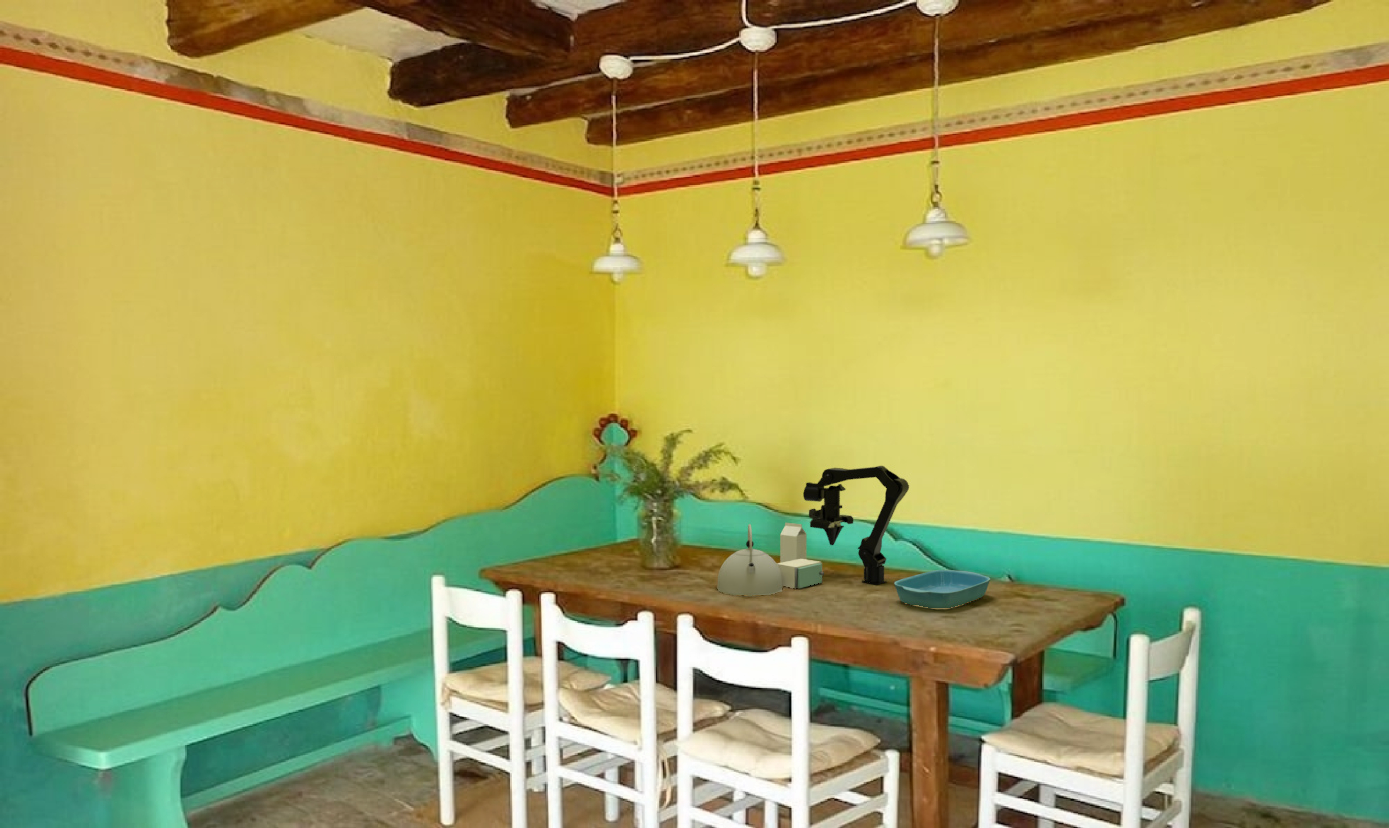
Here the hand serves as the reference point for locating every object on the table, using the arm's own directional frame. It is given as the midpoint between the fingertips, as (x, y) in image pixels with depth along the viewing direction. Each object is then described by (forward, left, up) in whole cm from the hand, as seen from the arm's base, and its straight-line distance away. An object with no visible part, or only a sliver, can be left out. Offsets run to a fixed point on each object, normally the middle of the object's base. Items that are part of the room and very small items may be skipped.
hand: (831, 545), depth 363 cm
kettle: (+8, +36, -12) cm, 39 cm away
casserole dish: (-48, +3, -12) cm, 50 cm away
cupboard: (+2, +17, -12) cm, 21 cm away
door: (-4, +17, -11) cm, 21 cm away
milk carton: (+14, +5, -12) cm, 19 cm away
